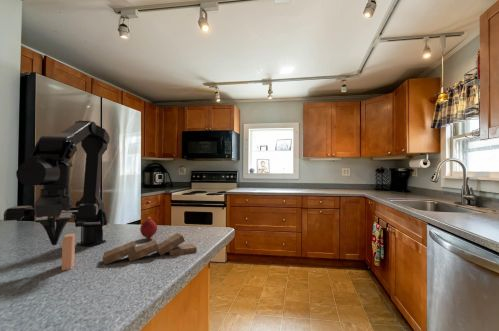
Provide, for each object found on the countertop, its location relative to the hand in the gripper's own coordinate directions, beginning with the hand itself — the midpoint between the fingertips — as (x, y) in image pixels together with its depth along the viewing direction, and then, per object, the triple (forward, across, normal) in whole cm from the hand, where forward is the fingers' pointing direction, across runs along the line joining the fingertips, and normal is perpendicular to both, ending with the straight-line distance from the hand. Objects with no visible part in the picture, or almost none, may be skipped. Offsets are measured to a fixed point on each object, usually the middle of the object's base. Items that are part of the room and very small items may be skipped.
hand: (54, 244), depth 66 cm
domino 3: (+5, +25, +1) cm, 26 cm away
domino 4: (+6, +28, 0) cm, 29 cm away
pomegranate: (+6, +24, +21) cm, 33 cm away
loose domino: (+6, +3, 0) cm, 7 cm away
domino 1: (+5, +11, 0) cm, 12 cm away
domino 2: (+5, +17, 0) cm, 18 cm away
